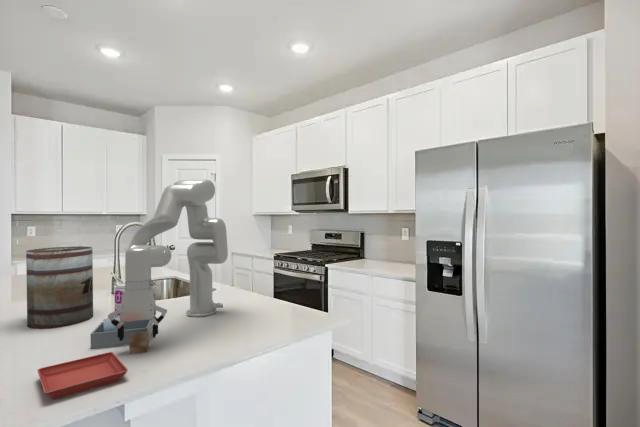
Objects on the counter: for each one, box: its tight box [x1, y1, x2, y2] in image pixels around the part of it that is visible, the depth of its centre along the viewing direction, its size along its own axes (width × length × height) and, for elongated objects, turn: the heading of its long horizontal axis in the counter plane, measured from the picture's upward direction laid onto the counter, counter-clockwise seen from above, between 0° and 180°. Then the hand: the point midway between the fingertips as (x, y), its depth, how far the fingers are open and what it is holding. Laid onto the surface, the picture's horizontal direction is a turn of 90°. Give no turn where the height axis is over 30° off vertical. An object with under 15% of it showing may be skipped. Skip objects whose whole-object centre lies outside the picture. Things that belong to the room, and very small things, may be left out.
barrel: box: [25, 245, 94, 330], centre depth 150 cm, size 22×22×30 cm
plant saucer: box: [36, 351, 129, 400], centre depth 96 cm, size 18×18×3 cm
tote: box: [90, 320, 154, 350], centre depth 127 cm, size 17×13×5 cm
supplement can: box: [113, 282, 125, 318], centre depth 150 cm, size 8×8×15 cm
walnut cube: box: [128, 332, 150, 355], centre depth 117 cm, size 5×5×5 cm
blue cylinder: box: [102, 316, 120, 332], centre depth 126 cm, size 5×5×7 cm
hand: (138, 337), depth 116 cm, fingers open, 9 cm apart
